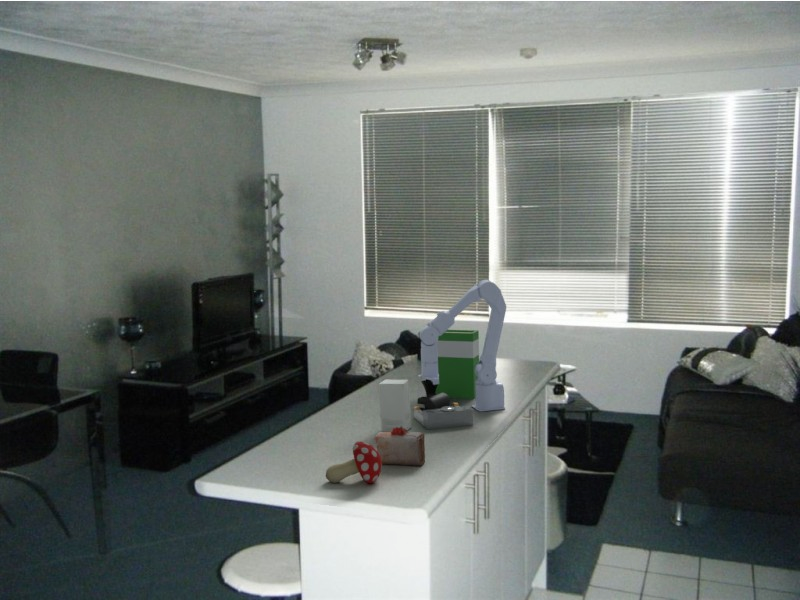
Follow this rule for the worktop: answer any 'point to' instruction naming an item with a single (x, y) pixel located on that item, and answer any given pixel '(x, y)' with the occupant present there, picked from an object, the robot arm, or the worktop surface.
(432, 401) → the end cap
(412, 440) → the food item
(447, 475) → the worktop surface
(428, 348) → the robot arm
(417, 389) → the worktop surface
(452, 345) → the green box
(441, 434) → the worktop surface
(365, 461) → the decorative mushroom
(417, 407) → the motor housing with clip cradle
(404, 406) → the skincare box
